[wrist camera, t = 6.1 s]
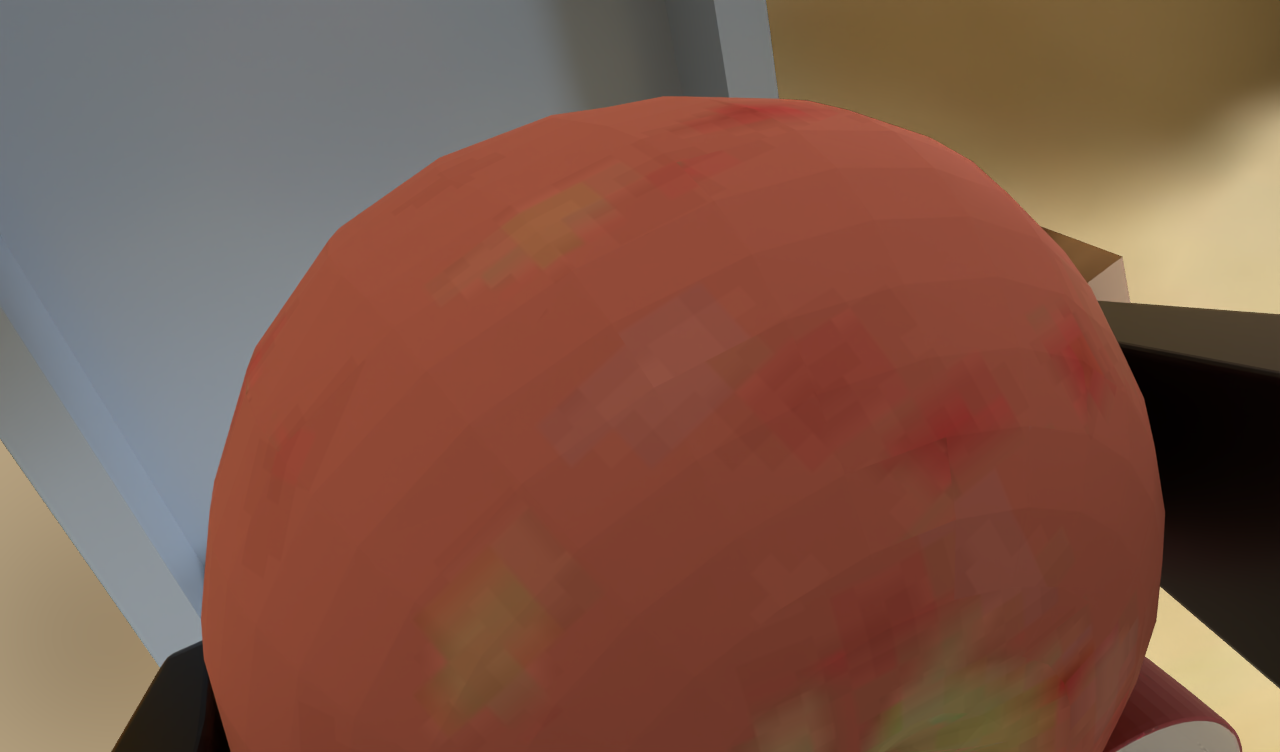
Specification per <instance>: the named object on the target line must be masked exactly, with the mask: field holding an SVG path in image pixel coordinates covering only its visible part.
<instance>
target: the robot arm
mask: <svg viewBox="0 0 1280 752" xmlns="http://www.w3.org/2000/svg"><path fill="white" fill-rule="evenodd" d="M1097 301H1098V300H1097ZM1098 303H1099V305H1100V307H1101V309H1102V311H1103V313H1104V315H1105V317H1106V320H1107V322H1108V324H1109V326H1110V328H1111V330H1112V332H1113V334H1114V336H1115V338H1116V340H1117V342H1118V344H1119V346H1120V348H1121V350H1122V352H1123V354H1124V356H1125V358H1126V360H1127V363H1128V365H1129V367H1130V369H1131V371H1132V373H1133V376H1134V378H1135V380H1136V382H1137V384H1138V386H1139V389H1140V391H1141V393H1142V395H1143V397H1144V400H1145V405H1146V409H1147V414H1148V419H1149V423H1150V428H1151V432H1152V437H1153V441H1154V446H1155V451H1156V458H1157V464H1158V471H1159V477H1160V483H1161V490H1162V496H1163V503H1164V509H1165V524H1164V542H1163V560H1162V570H1161V579H1160V587H1161V588H1163V589H1164V590H1165V591H1166V592H1167V593H1168V594H1170V595H1171V596H1172V597H1173V598H1174V599H1175V600H1177V601H1178V602H1179V603H1180V604H1181V605H1182V606H1184V607H1185V608H1186V609H1187V610H1188V611H1190V612H1191V613H1192V614H1193V615H1194V616H1195V617H1197V618H1198V619H1199V620H1200V621H1201V622H1202V623H1204V624H1205V625H1206V626H1207V627H1208V628H1209V629H1211V630H1212V631H1213V632H1214V633H1215V634H1216V635H1218V636H1219V637H1220V638H1221V639H1222V640H1223V641H1225V642H1226V643H1227V644H1228V645H1229V646H1231V647H1232V648H1233V649H1234V650H1235V651H1236V652H1238V653H1239V654H1240V655H1241V656H1242V657H1243V658H1245V659H1246V660H1247V661H1248V662H1249V663H1250V664H1252V665H1253V666H1254V667H1255V668H1256V669H1257V670H1259V671H1260V672H1261V673H1262V674H1263V675H1264V676H1266V677H1267V678H1268V679H1269V680H1270V681H1272V682H1273V683H1274V684H1275V685H1276V686H1277V687H1279V688H1280V314H1268V313H1255V312H1242V311H1228V310H1215V309H1202V308H1189V307H1176V306H1163V305H1150V304H1137V303H1124V302H1111V301H1098ZM111 752H231V751H230V748H229V745H228V741H227V738H226V734H225V731H224V727H223V724H222V720H221V717H220V713H219V710H218V706H217V703H216V699H215V696H214V693H213V689H212V686H211V682H210V679H209V675H208V672H207V668H206V665H205V661H204V655H203V641H202V640H201V641H199V642H197V643H195V644H192V645H190V646H188V647H186V648H183V649H181V650H179V651H177V652H175V653H173V654H171V655H170V656H168V657H167V659H166V660H165V661H164V663H163V664H162V666H161V667H160V669H159V671H158V673H157V674H156V676H155V678H154V680H153V681H152V683H151V685H150V686H149V688H148V690H147V692H146V693H145V695H144V697H143V699H142V700H141V702H140V704H139V705H138V707H137V709H136V711H135V712H134V714H133V715H132V717H131V719H130V721H129V722H128V724H127V726H126V727H125V729H124V731H123V733H122V734H121V736H120V738H119V739H118V741H117V743H116V745H115V746H114V748H113V750H112V751H111Z"/></svg>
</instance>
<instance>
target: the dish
mask: <svg viewBox="0 0 1280 752" xmlns="http://www.w3.org/2000/svg"><path fill="white" fill-rule="evenodd" d="M662 96H688V97H729V98H771V99H779V96H778V88H777V81H776V73H775V65H774V58H773V50H772V42H771V35H770V27H769V19H768V12H767V4H766V0H0V439H1V441H2V442H3V444H4V445H5V447H6V448H7V449H8V451H9V452H10V454H11V455H12V457H13V458H14V459H15V461H16V462H17V464H18V465H19V467H20V468H21V470H22V471H23V472H24V474H25V475H26V477H27V478H28V479H29V481H30V482H31V484H32V485H33V487H34V488H35V490H36V491H37V492H38V494H39V495H40V497H41V498H42V500H43V501H44V502H45V504H46V505H47V507H48V508H49V510H50V511H51V513H52V514H53V515H54V517H55V518H56V520H57V521H58V523H59V524H60V525H61V527H62V528H63V530H64V531H65V532H66V534H67V535H68V537H69V538H70V540H71V541H72V543H73V544H74V545H75V547H76V548H77V550H78V551H79V553H80V554H81V555H82V557H83V558H84V560H85V561H86V563H87V564H88V565H89V567H90V568H91V570H92V571H93V573H94V574H95V575H96V577H97V578H98V580H99V581H100V582H101V584H102V585H103V587H104V588H105V590H106V591H107V593H108V594H109V595H110V597H111V598H112V600H113V601H114V602H115V604H116V605H117V607H118V608H119V610H120V611H121V612H122V614H123V615H124V617H125V618H126V620H127V621H128V623H129V624H130V625H131V627H132V628H133V630H134V631H135V633H136V634H137V635H138V637H139V638H140V640H141V641H142V643H143V644H144V646H145V647H146V648H147V650H148V651H149V653H150V654H151V655H152V657H153V658H154V660H155V661H156V663H157V664H158V666H159V667H161V666H162V664H163V663H164V661H165V660H166V659H167V657H168V656H170V655H171V654H173V653H175V652H177V651H179V650H181V649H183V648H186V647H188V646H190V645H192V644H195V643H197V642H199V641H201V640H202V628H201V611H202V598H203V586H204V573H205V561H206V549H207V537H208V524H209V512H210V505H211V499H212V492H213V486H214V480H215V477H216V474H217V470H218V467H219V463H220V460H221V456H222V453H223V449H224V446H225V443H226V439H227V436H228V432H229V429H230V425H231V422H232V418H233V415H234V412H235V408H236V405H237V401H238V398H239V394H240V391H241V387H242V384H243V381H244V377H245V374H246V370H247V367H248V365H249V362H250V359H251V357H252V354H253V352H254V349H255V347H256V345H257V344H258V342H259V341H260V340H261V338H262V337H263V335H264V334H265V332H266V331H267V329H268V328H269V326H270V325H271V324H272V322H273V321H274V319H275V318H276V316H277V315H278V313H279V312H280V310H281V309H282V307H283V306H284V305H285V303H286V302H287V300H288V299H289V297H290V296H291V294H292V293H293V291H294V290H295V289H296V287H297V286H298V284H299V283H300V281H301V280H302V278H303V277H304V275H305V274H306V272H307V271H308V270H309V268H310V267H311V265H312V264H313V262H314V261H315V259H316V258H317V256H318V255H319V253H320V252H321V251H322V249H323V248H324V246H325V245H326V243H327V242H328V240H329V239H330V238H331V237H332V236H333V234H334V233H335V232H336V231H337V230H338V229H339V228H340V227H341V226H343V225H344V224H346V223H347V222H348V221H350V220H351V219H353V218H354V217H356V216H357V215H358V214H360V213H361V212H363V211H364V210H366V209H367V208H368V207H370V206H371V205H373V204H374V203H375V202H377V201H378V200H380V199H381V198H383V197H384V196H385V195H387V194H388V193H390V192H391V191H393V190H394V189H395V188H397V187H398V186H400V185H401V184H403V183H404V182H405V181H407V180H408V179H410V178H411V177H413V176H414V175H415V174H417V173H418V172H420V171H421V170H422V169H424V168H425V167H427V166H428V165H430V164H431V163H432V162H434V161H435V160H437V159H438V158H440V157H442V156H445V155H447V154H450V153H453V152H455V151H458V150H461V149H463V148H466V147H469V146H471V145H474V144H476V143H479V142H482V141H484V140H487V139H490V138H492V137H495V136H498V135H500V134H503V133H505V132H508V131H511V130H513V129H516V128H519V127H521V126H524V125H527V124H529V123H532V122H534V121H537V120H540V119H542V118H545V117H548V116H550V115H556V114H563V113H570V112H577V111H584V110H591V109H598V108H605V107H610V106H616V105H621V104H626V103H631V102H636V101H642V100H647V99H652V98H657V97H662Z"/></svg>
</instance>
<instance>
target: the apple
mask: <svg viewBox="0 0 1280 752" xmlns="http://www.w3.org/2000/svg"><path fill="white" fill-rule="evenodd" d="M1164 524H1165V509H1164V503H1163V496H1162V490H1161V483H1160V477H1159V471H1158V464H1157V458H1156V451H1155V446H1154V441H1153V437H1152V432H1151V428H1150V423H1149V419H1148V414H1147V409H1146V405H1145V400H1144V397H1143V395H1142V393H1141V391H1140V389H1139V386H1138V384H1137V382H1136V380H1135V378H1134V376H1133V373H1132V371H1131V369H1130V367H1129V365H1128V363H1127V360H1126V358H1125V356H1124V354H1123V352H1122V350H1121V348H1120V346H1119V344H1118V342H1117V340H1116V338H1115V336H1114V334H1113V332H1112V330H1111V328H1110V326H1109V324H1108V322H1107V320H1106V317H1105V315H1104V313H1103V311H1102V309H1101V307H1100V305H1099V303H1098V301H1097V299H1096V297H1095V295H1094V293H1093V291H1092V289H1091V287H1090V286H1089V285H1088V283H1087V282H1086V280H1085V279H1084V278H1083V276H1082V275H1081V274H1080V272H1079V271H1078V269H1077V268H1076V267H1075V265H1074V264H1073V262H1072V261H1071V260H1070V258H1069V257H1068V255H1067V254H1066V253H1065V251H1064V250H1063V249H1062V248H1061V247H1060V246H1059V245H1058V244H1057V243H1056V242H1055V241H1054V240H1053V239H1052V238H1051V237H1050V236H1049V235H1048V234H1047V233H1046V232H1045V231H1044V230H1043V229H1042V228H1041V227H1040V226H1039V225H1038V224H1037V223H1036V222H1035V221H1034V220H1033V219H1032V218H1031V217H1030V216H1029V214H1028V213H1027V212H1026V211H1025V210H1024V209H1023V208H1022V207H1021V206H1020V205H1019V204H1018V203H1017V202H1016V201H1015V200H1014V199H1013V198H1012V197H1011V196H1010V195H1009V194H1008V193H1007V192H1006V191H1005V190H1003V189H1002V188H1001V187H1000V186H999V185H998V184H997V183H996V182H995V181H993V180H992V179H991V178H990V177H989V176H988V175H987V174H986V173H985V172H983V171H982V170H981V169H980V168H979V167H978V166H977V165H976V164H975V163H974V162H972V161H971V160H969V159H967V158H966V157H964V156H962V155H960V154H959V153H957V152H955V151H953V150H951V149H950V148H948V147H946V146H944V145H943V144H941V143H939V142H937V141H935V140H934V139H932V138H930V137H927V136H924V135H921V134H918V133H915V132H912V131H909V130H906V129H903V128H900V127H897V126H894V125H891V124H889V123H886V122H883V121H880V120H877V119H874V118H871V117H868V116H865V115H862V114H859V113H856V112H853V111H850V110H846V109H842V108H837V107H833V106H829V105H825V104H820V103H816V102H812V101H808V100H791V99H771V98H729V97H688V96H662V97H657V98H652V99H647V100H642V101H636V102H631V103H626V104H621V105H616V106H610V107H605V108H598V109H591V110H584V111H577V112H570V113H563V114H556V115H550V116H548V117H545V118H542V119H540V120H537V121H534V122H532V123H529V124H527V125H524V126H521V127H519V128H516V129H513V130H511V131H508V132H505V133H503V134H500V135H498V136H495V137H492V138H490V139H487V140H484V141H482V142H479V143H476V144H474V145H471V146H469V147H466V148H463V149H461V150H458V151H455V152H453V153H450V154H447V155H445V156H442V157H440V158H438V159H437V160H435V161H434V162H432V163H431V164H430V165H428V166H427V167H425V168H424V169H422V170H421V171H420V172H418V173H417V174H415V175H414V176H413V177H411V178H410V179H408V180H407V181H405V182H404V183H403V184H401V185H400V186H398V187H397V188H395V189H394V190H393V191H391V192H390V193H388V194H387V195H385V196H384V197H383V198H381V199H380V200H378V201H377V202H375V203H374V204H373V205H371V206H370V207H368V208H367V209H366V210H364V211H363V212H361V213H360V214H358V215H357V216H356V217H354V218H353V219H351V220H350V221H348V222H347V223H346V224H344V225H343V226H341V227H340V228H339V229H338V230H337V231H336V232H335V233H334V234H333V236H332V237H331V238H330V239H329V240H328V242H327V243H326V245H325V246H324V248H323V249H322V251H321V252H320V253H319V255H318V256H317V258H316V259H315V261H314V262H313V264H312V265H311V267H310V268H309V270H308V271H307V272H306V274H305V275H304V277H303V278H302V280H301V281H300V283H299V284H298V286H297V287H296V289H295V290H294V291H293V293H292V294H291V296H290V297H289V299H288V300H287V302H286V303H285V305H284V306H283V307H282V309H281V310H280V312H279V313H278V315H277V316H276V318H275V319H274V321H273V322H272V324H271V325H270V326H269V328H268V329H267V331H266V332H265V334H264V335H263V337H262V338H261V340H260V341H259V342H258V344H257V345H256V347H255V349H254V352H253V354H252V357H251V359H250V362H249V365H248V367H247V370H246V374H245V377H244V381H243V384H242V387H241V391H240V394H239V398H238V401H237V405H236V408H235V412H234V415H233V418H232V422H231V425H230V429H229V432H228V436H227V439H226V443H225V446H224V449H223V453H222V456H221V460H220V463H219V467H218V470H217V474H216V477H215V480H214V486H213V492H212V499H211V505H210V512H209V524H208V537H207V549H206V561H205V573H204V586H203V598H202V611H201V628H202V641H203V655H204V661H205V665H206V668H207V672H208V675H209V679H210V682H211V686H212V689H213V693H214V696H215V699H216V703H217V706H218V710H219V713H220V717H221V720H222V724H223V727H224V731H225V734H226V738H227V741H228V745H229V748H230V751H231V752H1103V750H1104V748H1105V746H1106V744H1107V742H1108V740H1109V738H1110V736H1111V734H1112V732H1113V730H1114V728H1115V726H1116V724H1117V722H1118V720H1119V718H1120V716H1121V714H1122V712H1123V710H1124V708H1125V705H1126V703H1127V701H1128V699H1129V697H1130V695H1131V693H1132V691H1133V689H1134V687H1135V685H1136V682H1137V679H1138V676H1139V673H1140V670H1141V666H1142V663H1143V660H1144V657H1145V654H1146V651H1147V648H1148V645H1149V642H1150V638H1151V635H1152V632H1153V629H1154V626H1155V623H1156V618H1157V609H1158V599H1159V589H1160V579H1161V570H1162V560H1163V542H1164Z"/></svg>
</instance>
